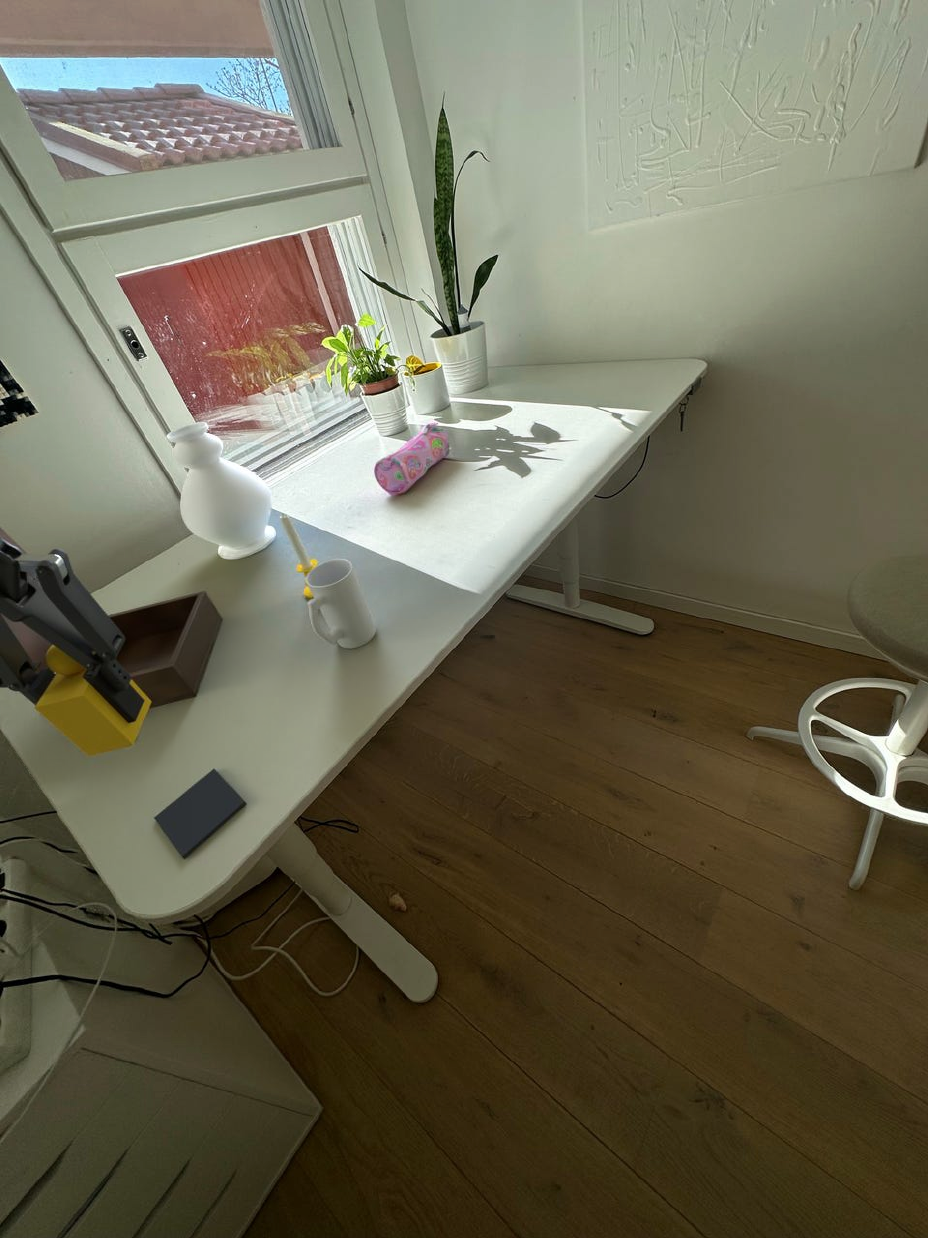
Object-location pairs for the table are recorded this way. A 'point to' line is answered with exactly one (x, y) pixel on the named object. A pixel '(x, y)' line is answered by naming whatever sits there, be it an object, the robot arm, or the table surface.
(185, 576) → the table surface
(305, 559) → the candle
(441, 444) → the pencil case
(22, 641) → the lid
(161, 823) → the coaster
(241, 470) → the decorative vase
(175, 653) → the chest
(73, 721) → the duck
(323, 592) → the mug
